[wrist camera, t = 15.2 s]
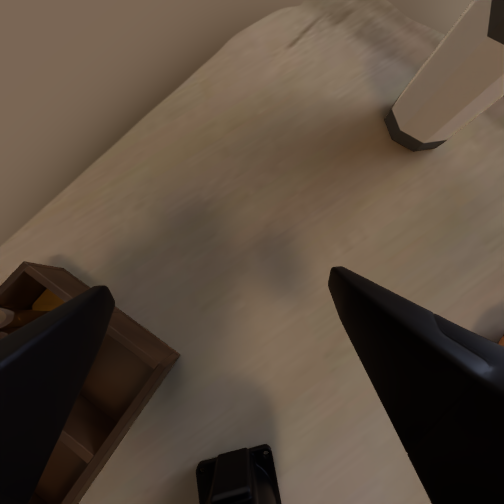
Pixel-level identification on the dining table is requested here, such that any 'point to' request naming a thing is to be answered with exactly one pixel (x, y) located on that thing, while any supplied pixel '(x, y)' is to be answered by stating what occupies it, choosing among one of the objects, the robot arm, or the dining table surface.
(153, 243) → the dining table surface
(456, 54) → the wine bottle
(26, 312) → the milkshake
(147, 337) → the organiser
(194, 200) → the dining table surface
